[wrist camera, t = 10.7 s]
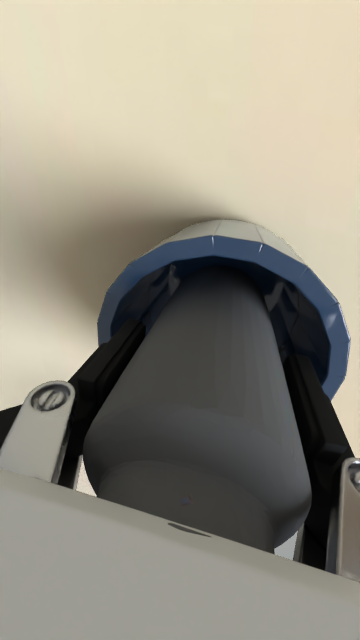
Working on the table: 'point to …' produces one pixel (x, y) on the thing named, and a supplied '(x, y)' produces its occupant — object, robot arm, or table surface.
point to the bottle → (205, 420)
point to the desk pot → (258, 263)
